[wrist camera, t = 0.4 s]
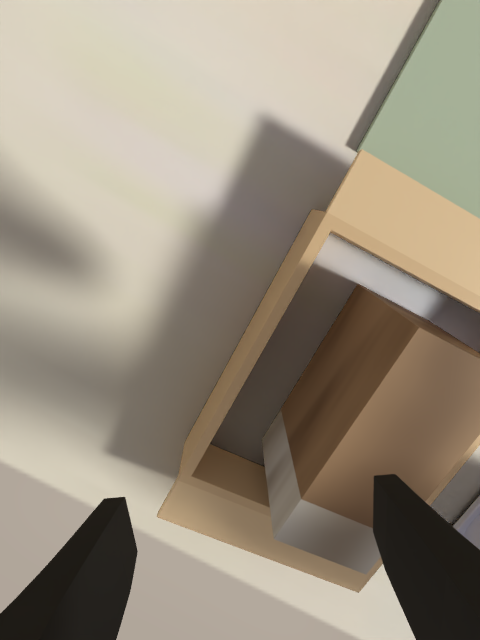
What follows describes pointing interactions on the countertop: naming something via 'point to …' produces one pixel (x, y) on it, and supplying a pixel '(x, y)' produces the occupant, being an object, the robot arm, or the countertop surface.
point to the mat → (437, 108)
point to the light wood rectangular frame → (340, 219)
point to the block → (368, 426)
